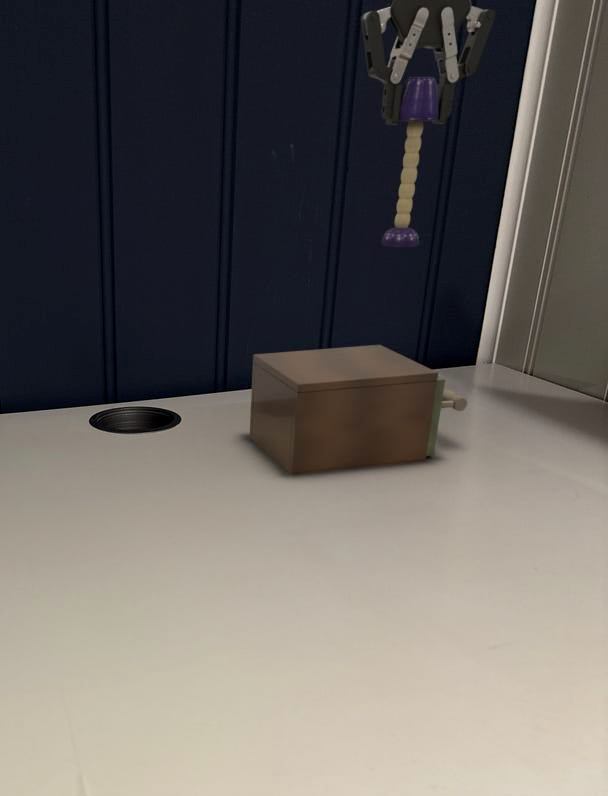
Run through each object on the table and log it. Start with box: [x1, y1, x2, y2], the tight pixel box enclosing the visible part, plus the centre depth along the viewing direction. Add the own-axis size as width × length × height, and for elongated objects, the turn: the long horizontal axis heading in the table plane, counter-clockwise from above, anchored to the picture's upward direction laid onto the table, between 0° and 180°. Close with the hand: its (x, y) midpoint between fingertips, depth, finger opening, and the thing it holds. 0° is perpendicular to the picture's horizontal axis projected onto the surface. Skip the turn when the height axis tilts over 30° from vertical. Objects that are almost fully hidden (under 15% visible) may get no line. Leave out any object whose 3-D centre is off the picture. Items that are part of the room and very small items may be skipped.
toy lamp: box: [381, 76, 438, 248], centre depth 103 cm, size 5×5×17 cm
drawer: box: [426, 375, 468, 457], centre depth 97 cm, size 18×11×8 cm, turn 103°
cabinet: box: [249, 344, 439, 476], centre depth 97 cm, size 15×13×10 cm
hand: (415, 123), depth 101 cm, fingers closed on toy lamp, 4 cm apart
